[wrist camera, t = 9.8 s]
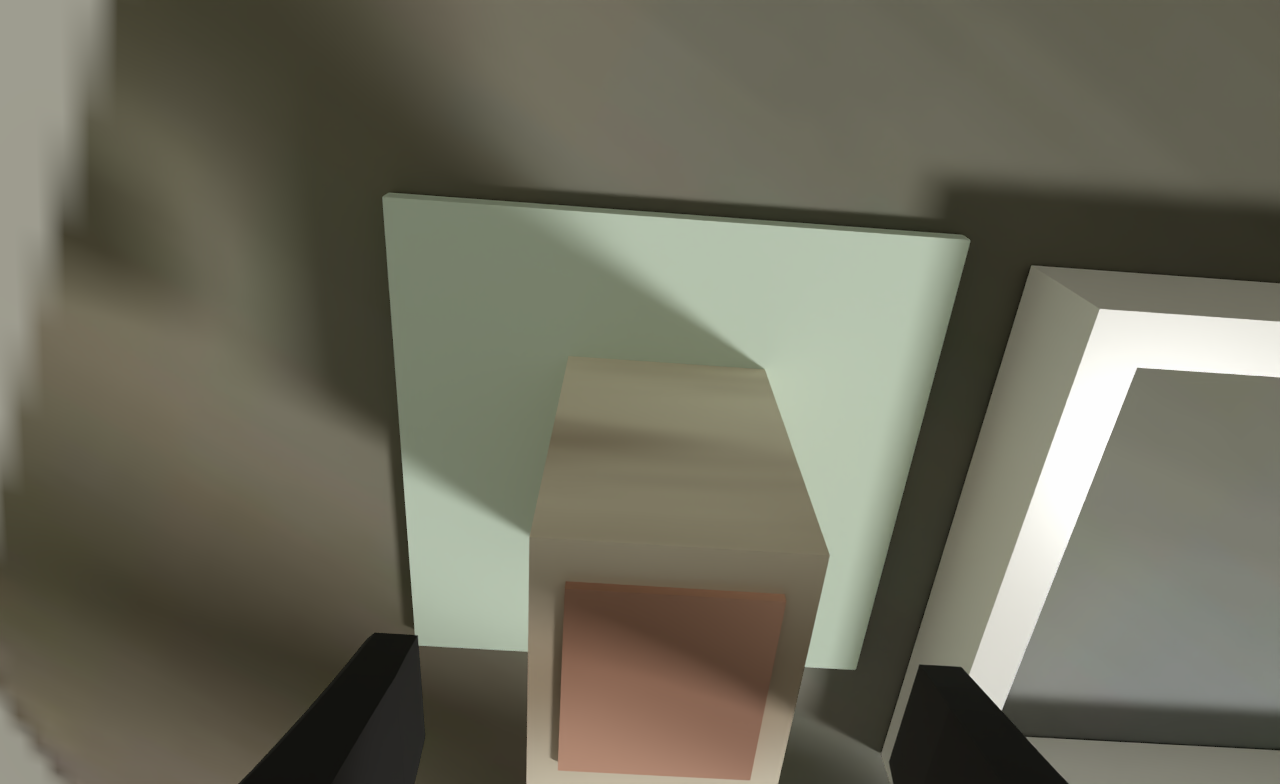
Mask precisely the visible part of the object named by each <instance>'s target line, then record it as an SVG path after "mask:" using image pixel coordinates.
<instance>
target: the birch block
mask: <svg viewBox="0 0 1280 784" xmlns="http://www.w3.org/2000/svg"><path fill="white" fill-rule="evenodd" d="M829 557H830V554H829V551H828V548H827V546H826V543H825V540H824V537H823V534H822V531H821V528H820V526H819V523H818V520H817V517H816V514H815V511H814V508H813V506H812V503H811V500H810V497H809V494H808V491H807V488H806V486H805V483H804V480H803V477H802V474H801V471H800V468H799V466H798V463H797V460H796V457H795V454H794V451H793V448H792V446H791V443H790V440H789V437H788V434H787V431H786V428H785V426H784V423H783V420H782V417H781V414H780V411H779V408H778V406H777V403H776V400H775V397H774V394H773V391H772V388H771V386H770V383H769V380H768V377H767V374H766V371H765V369H753V368H738V367H723V366H709V365H694V364H679V363H664V362H650V361H635V360H620V359H606V358H591V357H576V356H568V361H567V365H566V370H565V375H564V379H563V384H562V388H561V393H560V398H559V402H558V407H557V412H556V416H555V421H554V425H553V430H552V435H551V439H550V444H549V449H548V453H547V458H546V462H545V467H544V472H543V476H542V481H541V485H540V490H539V495H538V499H537V504H536V509H535V513H534V518H533V522H532V527H531V532H530V536H529V606H528V691H527V776H526V784H778V782H779V777H780V773H781V768H782V764H783V760H784V755H785V751H786V746H787V742H788V738H789V733H790V729H791V724H792V720H793V716H794V711H795V707H796V703H797V698H798V694H799V689H800V685H801V681H802V676H803V672H804V667H805V663H806V659H807V654H808V650H809V645H810V641H811V637H812V632H813V628H814V623H815V619H816V615H817V610H818V606H819V601H820V597H821V593H822V588H823V584H824V579H825V575H826V571H827V566H828V562H829Z"/></svg>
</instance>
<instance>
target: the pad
mask: <svg viewBox="0 0 1280 784" xmlns="http://www.w3.org/2000/svg"><path fill="white" fill-rule="evenodd" d="M382 201H383V214H384V227H385V241H386V254H387V268H388V281H389V294H390V308H391V321H392V334H393V348H394V361H395V375H396V388H397V401H398V415H399V428H400V441H401V455H402V468H403V482H404V495H405V508H406V522H407V535H408V548H409V562H410V575H411V589H412V602H413V615H414V629H415V635H418V644H419V646H436V647H454V648H472V649H490V650H508V651H526V652H528V606H529V536H530V532H531V527H532V522H533V518H534V513H535V509H536V504H537V499H538V495H539V490H540V485H541V481H542V476H543V472H544V467H545V462H546V458H547V453H548V449H549V444H550V439H551V435H552V430H553V425H554V421H555V416H556V412H557V407H558V402H559V398H560V393H561V388H562V384H563V379H564V375H565V370H566V365H567V361H568V356H576V357H591V358H606V359H620V360H635V361H650V362H664V363H679V364H694V365H709V366H723V367H738V368H753V369H765V371H766V374H767V377H768V380H769V383H770V386H771V388H772V391H773V394H774V397H775V400H776V403H777V406H778V408H779V411H780V414H781V417H782V420H783V423H784V426H785V428H786V431H787V434H788V437H789V440H790V443H791V446H792V448H793V451H794V454H795V457H796V460H797V463H798V466H799V468H800V471H801V474H802V477H803V480H804V483H805V486H806V488H807V491H808V494H809V497H810V500H811V503H812V506H813V508H814V511H815V514H816V517H817V520H818V523H819V526H820V528H821V531H822V534H823V537H824V540H825V543H826V546H827V548H828V551H829V554H830V557H829V562H828V566H827V571H826V575H825V579H824V584H823V588H822V593H821V597H820V601H819V606H818V610H817V615H816V619H815V623H814V628H813V632H812V637H811V641H810V645H809V650H808V654H807V659H806V663H805V667H812V668H830V669H848V670H856V667H857V664H858V660H859V656H860V652H861V649H862V645H863V641H864V637H865V634H866V630H867V626H868V622H869V619H870V615H871V611H872V607H873V604H874V600H875V596H876V593H877V589H878V585H879V581H880V578H881V574H882V570H883V566H884V563H885V559H886V555H887V551H888V548H889V544H890V540H891V536H892V533H893V529H894V525H895V521H896V518H897V514H898V510H899V507H900V503H901V499H902V495H903V492H904V488H905V484H906V480H907V477H908V473H909V469H910V465H911V462H912V458H913V454H914V450H915V447H916V443H917V439H918V435H919V432H920V428H921V424H922V421H923V417H924V413H925V409H926V406H927V402H928V398H929V394H930V391H931V387H932V383H933V379H934V376H935V372H936V368H937V364H938V361H939V357H940V353H941V349H942V346H943V342H944V338H945V335H946V331H947V327H948V323H949V320H950V316H951V312H952V308H953V305H954V301H955V297H956V293H957V290H958V286H959V282H960V278H961V275H962V271H963V267H964V263H965V260H966V256H967V252H968V249H969V245H970V241H971V240H970V239H968V238H967V237H965V236H964V235H960V234H946V233H932V232H919V231H905V230H892V229H878V228H865V227H851V226H837V225H824V224H810V223H797V222H783V221H769V220H756V219H742V218H729V217H715V216H702V215H688V214H674V213H661V212H647V211H634V210H620V209H606V208H593V207H579V206H566V205H552V204H539V203H525V202H511V201H498V200H484V199H471V198H457V197H443V196H430V195H416V194H403V193H387V194H386V195H384V196H383V197H382Z"/></svg>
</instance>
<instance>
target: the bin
mask: <svg viewBox="0 0 1280 784" xmlns="http://www.w3.org/2000/svg"><path fill="white" fill-rule="evenodd" d="M1137 367H1139V368H1153V369H1168V370H1182V371H1197V372H1211V373H1226V374H1241V375H1255V376H1270V377H1280V283H1268V282H1254V281H1240V280H1226V279H1213V278H1199V277H1185V276H1171V275H1157V274H1144V273H1130V272H1116V271H1102V270H1089V269H1075V268H1061V267H1047V266H1033V265H1031V268H1030V271H1029V275H1028V278H1027V281H1026V284H1025V288H1024V291H1023V294H1022V297H1021V301H1020V304H1019V307H1018V310H1017V314H1016V317H1015V320H1014V323H1013V327H1012V330H1011V333H1010V336H1009V340H1008V343H1007V346H1006V349H1005V353H1004V356H1003V359H1002V362H1001V366H1000V369H999V372H998V375H997V379H996V382H995V385H994V388H993V392H992V395H991V398H990V401H989V405H988V408H987V411H986V414H985V418H984V421H983V424H982V427H981V431H980V434H979V437H978V440H977V444H976V447H975V450H974V453H973V457H972V460H971V463H970V466H969V470H968V473H967V476H966V479H965V483H964V486H963V489H962V492H961V496H960V499H959V502H958V506H957V509H956V512H955V515H954V519H953V522H952V525H951V528H950V532H949V535H948V538H947V541H946V545H945V548H944V551H943V554H942V558H941V561H940V564H939V567H938V571H937V574H936V577H935V580H934V584H933V587H932V590H931V593H930V597H929V600H928V603H927V606H926V610H925V613H924V616H923V619H922V623H921V626H920V629H919V632H918V636H917V639H916V642H915V645H914V649H913V652H912V655H911V658H910V662H909V665H908V668H907V671H906V675H905V678H904V681H903V684H902V688H901V691H900V694H899V697H898V701H897V704H896V707H895V710H894V714H893V717H892V720H891V723H890V727H889V730H888V733H887V736H886V740H885V743H884V746H883V749H882V753H881V757H882V760H883V763H884V766H885V769H886V772H887V775H888V778H889V782H890V784H893V780H892V775H891V771H890V766H889V760H890V756H891V753H892V750H893V747H894V744H895V740H896V737H897V734H898V731H899V728H900V725H901V721H902V718H903V715H904V712H905V709H906V705H907V702H908V699H909V696H910V693H911V689H912V686H913V683H914V680H915V677H916V673H917V670H918V667H919V664H922V665H939V666H956V667H962V668H963V669H964V670H965V671H966V673H967V674H968V675H969V676H970V677H971V678H972V679H973V680H974V681H975V682H976V683H977V684H978V685H979V687H980V688H981V689H982V690H983V691H984V692H985V693H986V694H987V695H988V696H989V698H990V699H991V700H992V701H993V702H994V703H995V704H996V705H997V706H998V708H999V709H1000V710H1001V711H1002V709H1003V706H1004V704H1005V701H1006V698H1007V696H1008V693H1009V691H1010V688H1011V686H1012V683H1013V681H1014V678H1015V676H1016V673H1017V670H1018V668H1019V665H1020V663H1021V660H1022V658H1023V655H1024V653H1025V650H1026V648H1027V645H1028V643H1029V640H1030V637H1031V635H1032V632H1033V630H1034V627H1035V625H1036V622H1037V620H1038V617H1039V615H1040V612H1041V610H1042V607H1043V604H1044V602H1045V599H1046V597H1047V594H1048V592H1049V589H1050V587H1051V584H1052V582H1053V579H1054V577H1055V574H1056V571H1057V569H1058V566H1059V564H1060V561H1061V559H1062V556H1063V554H1064V551H1065V549H1066V546H1067V544H1068V541H1069V538H1070V536H1071V533H1072V531H1073V528H1074V526H1075V523H1076V521H1077V518H1078V516H1079V513H1080V511H1081V508H1082V505H1083V503H1084V500H1085V498H1086V495H1087V493H1088V490H1089V488H1090V485H1091V483H1092V480H1093V478H1094V475H1095V472H1096V470H1097V467H1098V465H1099V462H1100V460H1101V457H1102V455H1103V452H1104V450H1105V447H1106V445H1107V442H1108V439H1109V437H1110V434H1111V432H1112V429H1113V427H1114V424H1115V422H1116V419H1117V417H1118V414H1119V412H1120V409H1121V406H1122V404H1123V401H1124V399H1125V396H1126V394H1127V391H1128V389H1129V386H1130V384H1131V381H1132V379H1133V376H1134V373H1135V371H1136V368H1137ZM1026 738H1027V739H1028V741H1029V742H1030V743H1031V744H1032V745H1033V746H1034V747H1035V748H1036V749H1037V750H1038V751H1039V753H1040V754H1041V755H1042V756H1043V757H1044V758H1045V759H1046V760H1047V761H1048V762H1049V763H1050V764H1051V765H1052V767H1053V768H1054V769H1055V770H1056V771H1057V772H1058V773H1059V774H1060V775H1061V776H1062V777H1063V778H1064V779H1065V780H1066V781H1067V782H1068V783H1069V784H1280V750H1261V749H1243V748H1224V747H1205V746H1187V745H1168V744H1149V743H1131V742H1112V741H1093V740H1075V739H1056V738H1037V737H1026Z"/></svg>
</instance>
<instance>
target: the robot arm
mask: <svg viewBox="0 0 1280 784" xmlns="http://www.w3.org/2000/svg"><path fill="white" fill-rule="evenodd" d="M424 740H425V728H424V714H423V700H422V686H421V672H420V658H419V644H418V635H404V634H387V633H374V634H373V635H371V636H370V637H369V638H367V640H366V641H365V642H364V643H363V645H362V646H361V647H360V648H359V649H358V651H357V652H356V653H355V654H354V656H353V657H352V658H351V659H350V660H349V662H348V663H347V664H346V665H345V667H344V668H343V669H342V670H341V671H340V673H339V674H338V675H337V676H336V677H335V678H334V680H333V681H332V682H331V683H330V684H329V686H328V687H327V688H326V689H325V690H324V691H323V693H322V694H321V695H320V696H319V697H318V698H317V699H316V701H315V702H314V703H313V704H312V705H311V706H310V707H309V709H308V710H307V711H306V712H305V713H304V714H303V715H302V717H301V718H300V719H299V720H298V721H297V722H296V723H295V724H294V725H293V726H292V727H291V729H290V730H289V731H288V732H287V733H286V734H285V735H284V736H283V737H282V738H281V739H280V741H279V742H278V743H277V744H276V745H275V746H274V747H273V748H272V749H271V750H270V751H269V753H268V754H267V755H266V756H265V757H264V758H263V759H262V760H261V761H260V762H259V763H258V764H257V765H256V766H255V767H254V768H253V770H252V771H251V772H250V773H249V774H248V775H247V776H246V777H245V778H244V779H243V780H242V781H241V782H240V783H239V784H414V783H415V779H416V775H417V770H418V766H419V762H420V757H421V753H422V748H423V744H424ZM889 766H890V771H891V775H892V780H893V784H1069V783H1068V782H1067V781H1066V780H1065V779H1064V778H1063V777H1062V776H1061V775H1060V774H1059V773H1058V772H1057V771H1056V770H1055V769H1054V768H1053V767H1052V765H1051V764H1050V763H1049V762H1048V761H1047V760H1046V759H1045V758H1044V757H1043V756H1042V755H1041V754H1040V753H1039V751H1038V750H1037V749H1036V748H1035V747H1034V746H1033V745H1032V744H1031V743H1030V742H1029V741H1028V739H1027V738H1026V737H1025V736H1024V735H1023V734H1022V733H1021V732H1020V731H1019V730H1018V728H1017V727H1016V726H1015V725H1014V724H1013V723H1012V722H1011V721H1010V720H1009V719H1008V717H1007V716H1006V715H1005V714H1004V713H1003V712H1002V711H1001V710H1000V709H999V708H998V706H997V705H996V704H995V703H994V702H993V701H992V700H991V699H990V698H989V696H988V695H987V694H986V693H985V692H984V691H983V690H982V689H981V688H980V687H979V685H978V684H977V683H976V682H975V681H974V680H973V679H972V678H971V677H970V676H969V675H968V674H967V673H966V671H965V670H964V669H963V668H962V667H956V666H939V665H922V664H919V667H918V670H917V673H916V677H915V680H914V683H913V686H912V689H911V693H910V696H909V699H908V702H907V705H906V709H905V712H904V715H903V718H902V721H901V725H900V728H899V731H898V734H897V737H896V740H895V744H894V747H893V750H892V753H891V756H890V760H889Z"/></svg>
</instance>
